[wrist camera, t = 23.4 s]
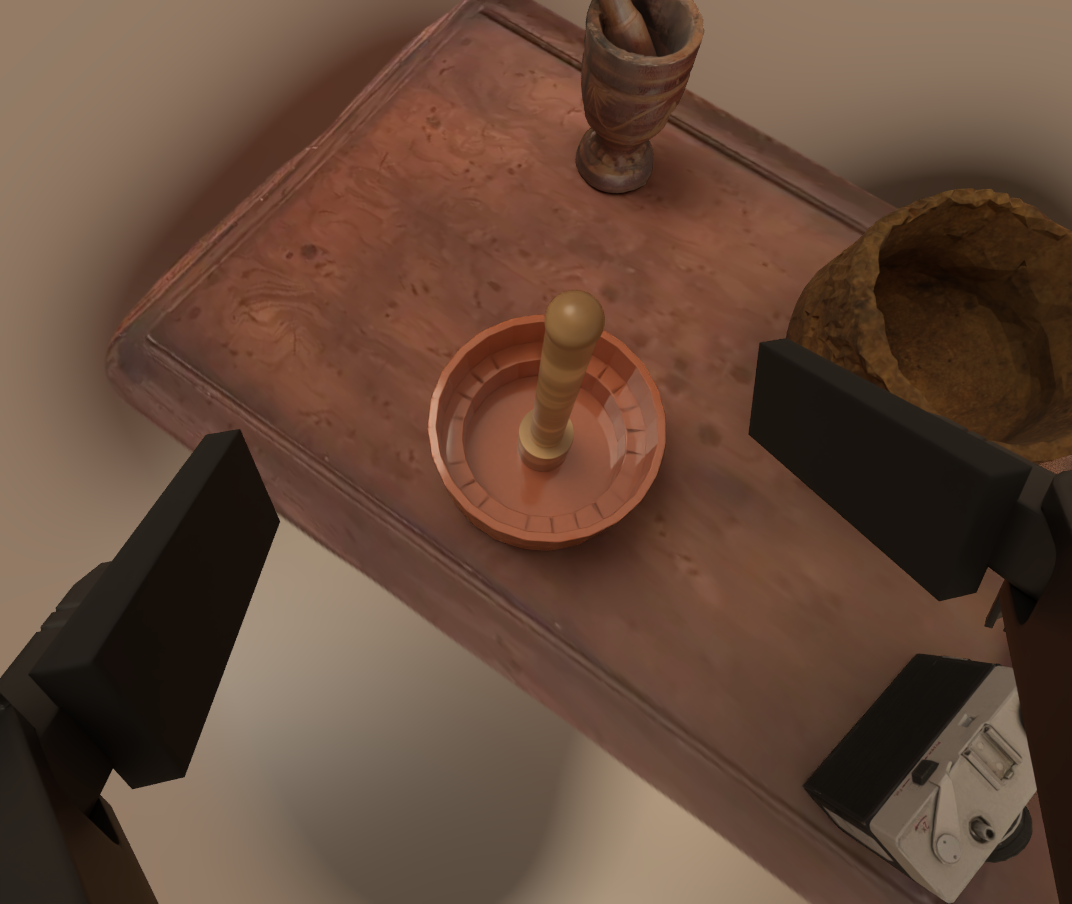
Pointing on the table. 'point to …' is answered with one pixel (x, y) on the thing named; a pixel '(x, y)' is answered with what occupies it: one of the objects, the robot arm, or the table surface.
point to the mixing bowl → (493, 427)
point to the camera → (935, 773)
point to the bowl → (956, 316)
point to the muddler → (560, 378)
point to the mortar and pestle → (632, 84)
